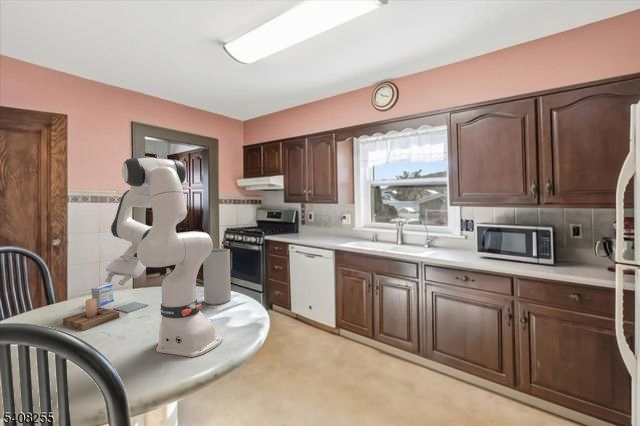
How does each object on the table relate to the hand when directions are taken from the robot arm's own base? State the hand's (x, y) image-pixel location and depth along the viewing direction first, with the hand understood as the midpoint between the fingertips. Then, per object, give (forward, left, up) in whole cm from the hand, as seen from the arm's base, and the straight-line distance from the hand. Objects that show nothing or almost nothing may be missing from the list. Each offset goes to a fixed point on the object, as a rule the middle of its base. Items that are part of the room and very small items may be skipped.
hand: (113, 283), depth 139 cm
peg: (0, +9, -14) cm, 16 cm away
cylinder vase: (-30, -32, -14) cm, 46 cm away
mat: (0, -8, -14) cm, 16 cm away
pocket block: (0, +9, -14) cm, 16 cm away
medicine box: (+18, -6, -14) cm, 23 cm away
